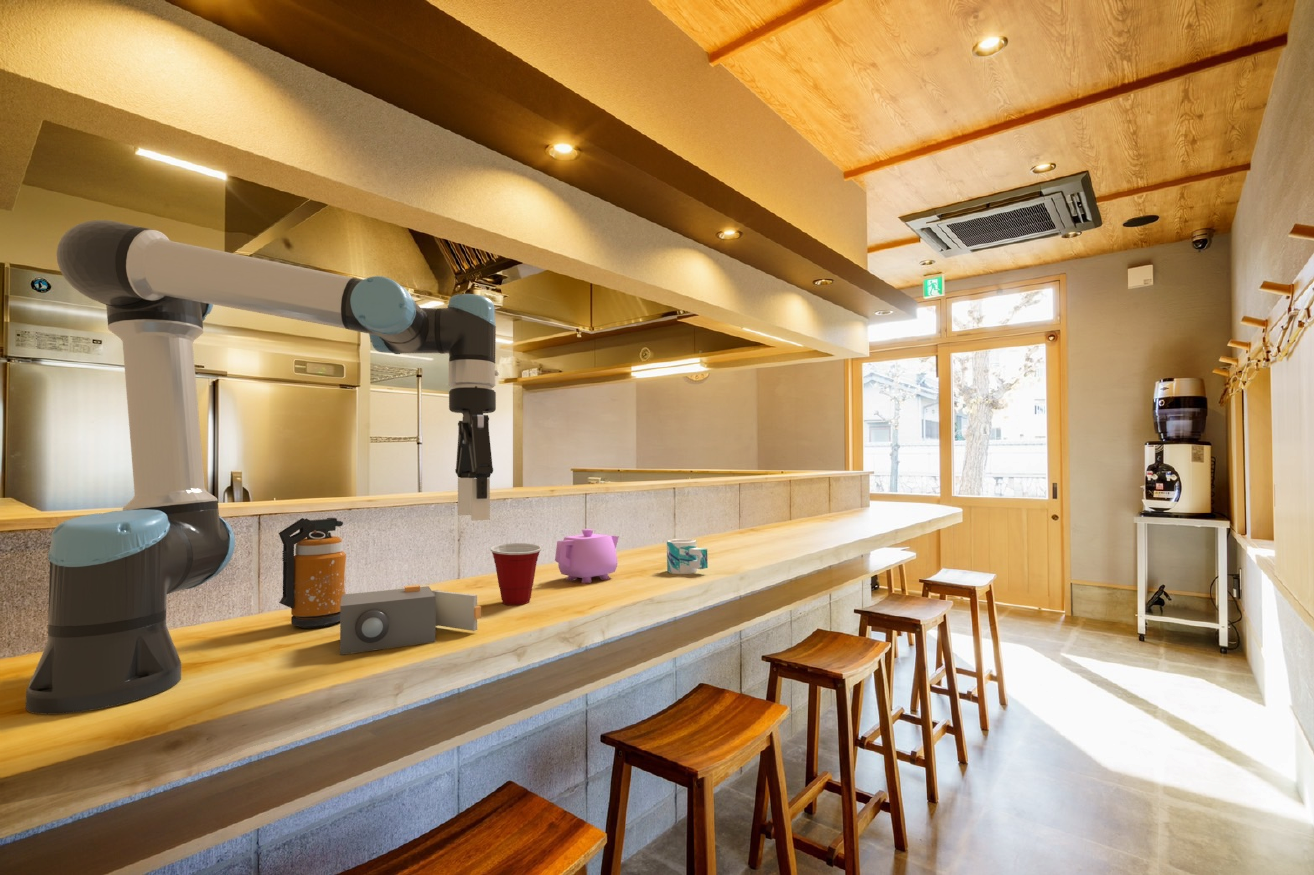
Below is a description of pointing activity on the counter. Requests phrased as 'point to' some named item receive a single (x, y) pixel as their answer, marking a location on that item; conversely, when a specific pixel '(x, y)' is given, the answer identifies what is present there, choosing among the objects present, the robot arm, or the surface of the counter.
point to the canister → (313, 572)
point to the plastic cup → (515, 570)
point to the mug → (685, 556)
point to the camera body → (386, 619)
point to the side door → (456, 610)
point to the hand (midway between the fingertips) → (473, 517)
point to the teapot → (587, 556)
